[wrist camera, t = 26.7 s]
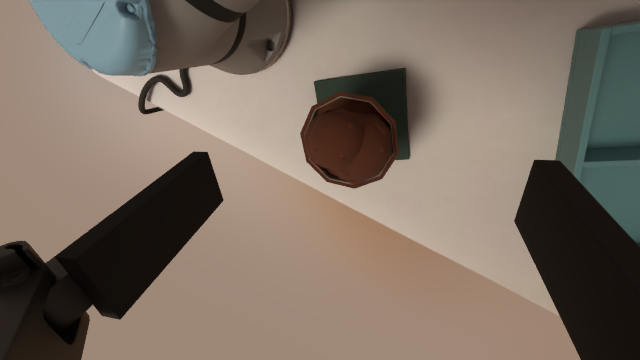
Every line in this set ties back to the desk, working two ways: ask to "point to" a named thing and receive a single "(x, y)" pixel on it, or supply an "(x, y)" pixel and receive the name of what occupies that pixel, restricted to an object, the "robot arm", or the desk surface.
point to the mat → (376, 97)
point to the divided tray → (605, 120)
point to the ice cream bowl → (350, 139)
